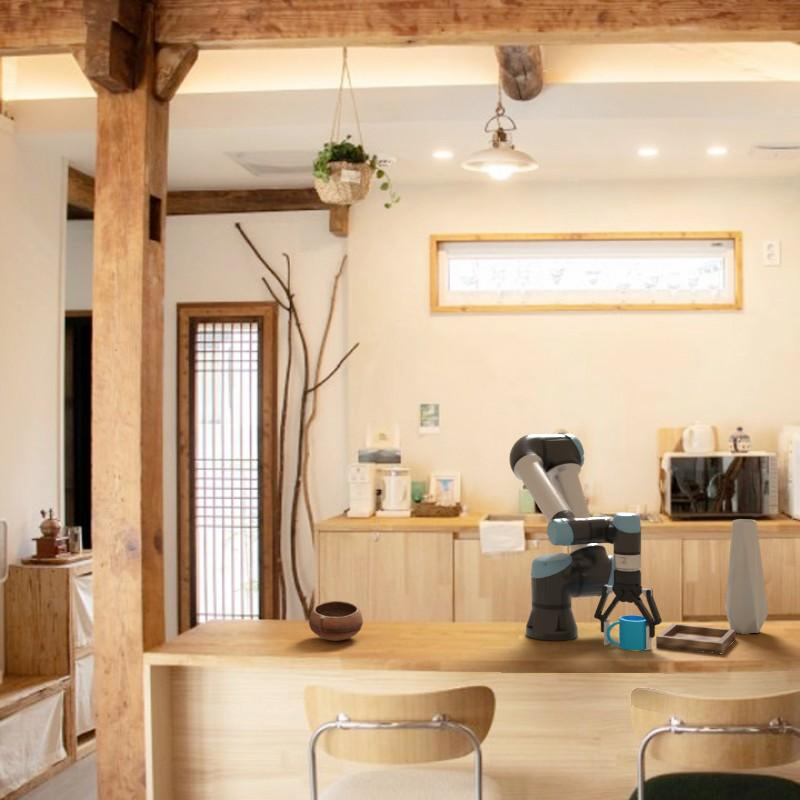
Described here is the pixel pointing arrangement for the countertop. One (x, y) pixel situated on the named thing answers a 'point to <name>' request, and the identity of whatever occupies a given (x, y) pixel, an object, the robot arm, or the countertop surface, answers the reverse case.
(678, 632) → the tray
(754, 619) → the vase
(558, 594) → the robot arm
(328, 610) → the bowl
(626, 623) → the mug
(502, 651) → the countertop surface
